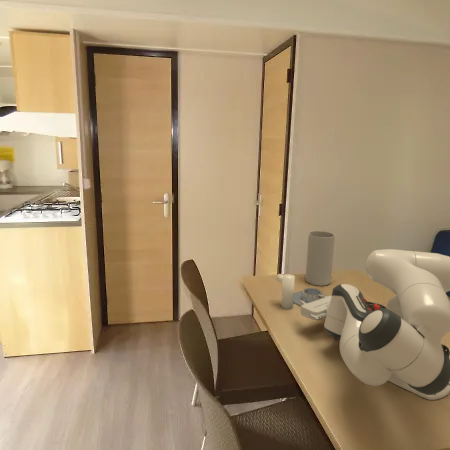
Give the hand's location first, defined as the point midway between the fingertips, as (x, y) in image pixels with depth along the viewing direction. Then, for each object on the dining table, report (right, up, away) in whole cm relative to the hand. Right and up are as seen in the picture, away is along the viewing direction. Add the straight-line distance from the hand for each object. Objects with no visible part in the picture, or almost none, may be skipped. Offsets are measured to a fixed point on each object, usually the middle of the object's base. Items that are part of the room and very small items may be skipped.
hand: (308, 299), depth 147 cm
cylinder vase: (+14, +1, +40) cm, 42 cm away
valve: (+29, -6, +14) cm, 32 cm away
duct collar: (+5, -4, +18) cm, 20 cm away
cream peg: (-8, -5, +13) cm, 16 cm away
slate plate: (+5, -4, +18) cm, 20 cm away
